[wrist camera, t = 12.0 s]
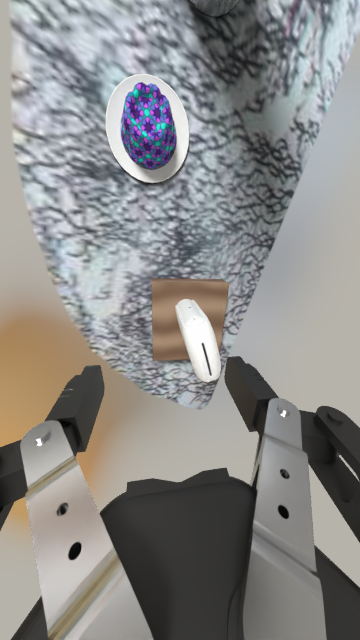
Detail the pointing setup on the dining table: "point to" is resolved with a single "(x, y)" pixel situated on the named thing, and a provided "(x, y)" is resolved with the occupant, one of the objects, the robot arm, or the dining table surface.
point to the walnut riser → (164, 316)
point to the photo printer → (199, 340)
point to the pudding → (147, 127)
